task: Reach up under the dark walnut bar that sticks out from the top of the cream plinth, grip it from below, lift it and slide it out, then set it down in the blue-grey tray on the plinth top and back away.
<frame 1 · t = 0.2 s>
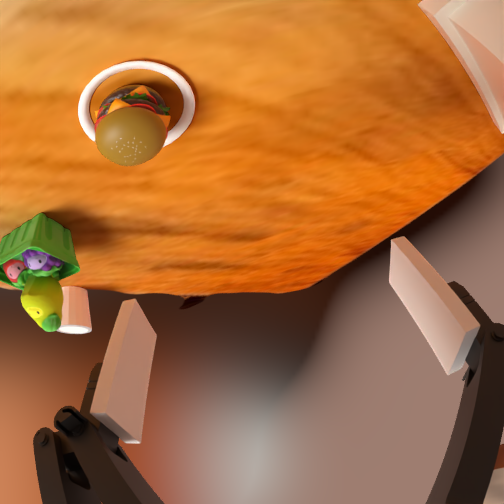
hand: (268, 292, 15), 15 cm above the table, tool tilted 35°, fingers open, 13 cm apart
fruit basket: (38, 234, 30), on the table
white cup: (72, 290, 47), on the table
hamburger: (136, 102, 20), on the table
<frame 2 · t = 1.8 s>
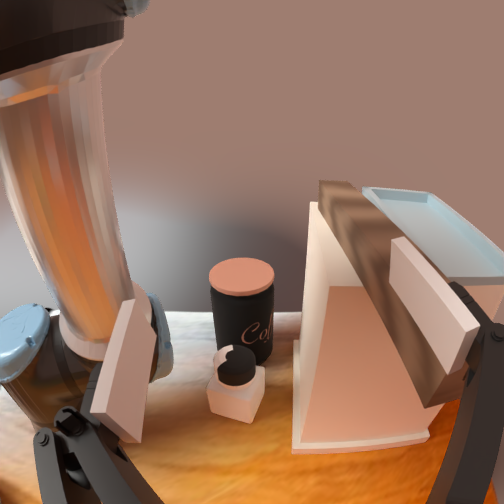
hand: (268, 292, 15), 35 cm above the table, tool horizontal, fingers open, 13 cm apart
tray: (426, 236, 33), resting on plinth
plinth: (354, 393, 47), on the table
medicine bottle: (238, 403, 47), on the table
coffee jar: (245, 351, 59), on the table
walnut bar: (371, 265, 28), point 30 cm above the table, touching plinth
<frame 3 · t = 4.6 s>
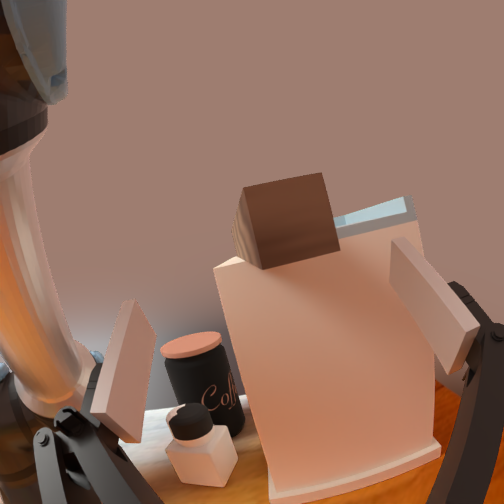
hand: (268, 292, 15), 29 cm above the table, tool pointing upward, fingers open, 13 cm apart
tray: (335, 235, 38), resting on plinth
plinth: (341, 438, 39), on the table
medicine bottle: (211, 472, 37), on the table
coffee jar: (218, 429, 50), on the table
walnut bar: (263, 255, 31), point 30 cm above the table, touching plinth
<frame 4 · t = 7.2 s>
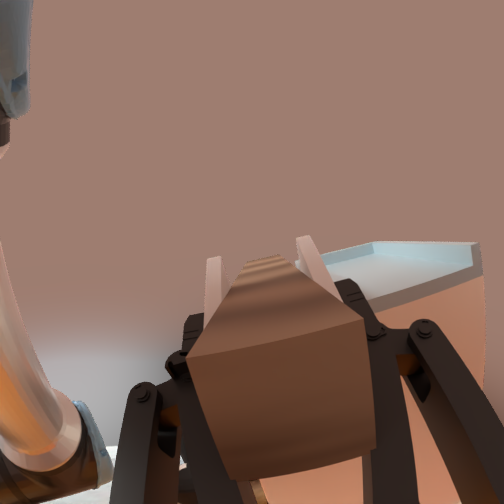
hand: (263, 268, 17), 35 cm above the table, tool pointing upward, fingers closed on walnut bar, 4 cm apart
tray: (369, 278, 29), resting on plinth
plinth: (359, 490, 30), on the table
walnut bar: (276, 322, 22), point 30 cm above the table, touching gripper, plinth
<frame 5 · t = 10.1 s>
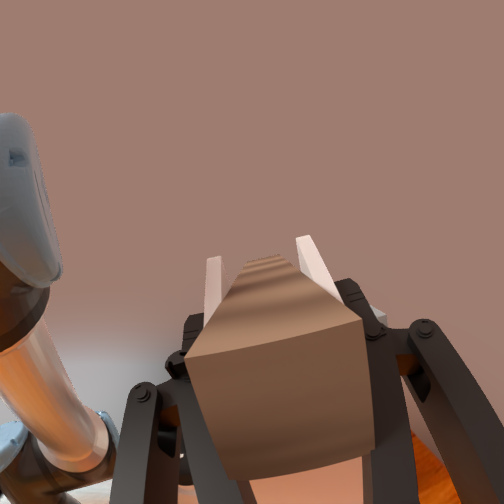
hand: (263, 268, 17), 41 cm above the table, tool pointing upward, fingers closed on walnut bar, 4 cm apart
plinth: (318, 480, 41), on the table
walnut bar: (276, 322, 22), point 37 cm above the table, touching gripper
when the fingers open (37 cm above the table, at t = 13.4 s): walnut bar stays where it is, resting on tray.
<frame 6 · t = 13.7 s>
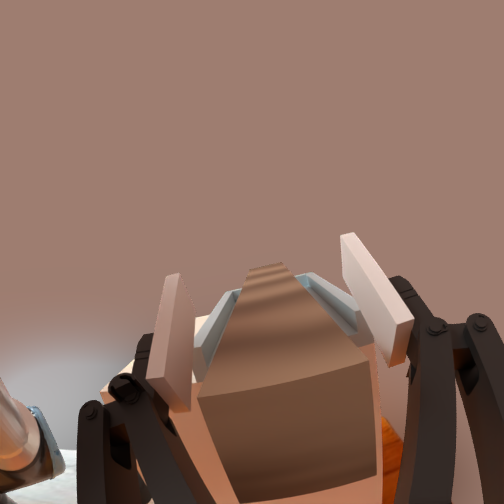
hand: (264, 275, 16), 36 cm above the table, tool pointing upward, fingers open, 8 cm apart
tray: (277, 322, 30), resting on plinth
walnut bar: (280, 334, 22), point 31 cm above the table, touching tray
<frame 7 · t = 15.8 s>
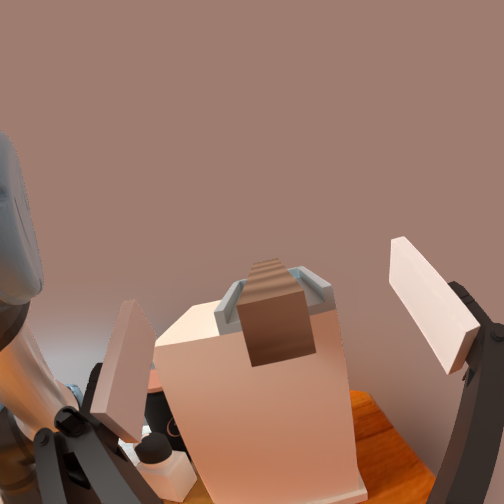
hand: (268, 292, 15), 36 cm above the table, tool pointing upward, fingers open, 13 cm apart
tray: (274, 301, 41), resting on plinth
plinth: (286, 469, 42), on the table
medicine bottle: (174, 488, 40), on the table
coffee jar: (186, 449, 53), on the table
walnut bar: (274, 305, 34), point 31 cm above the table, touching tray
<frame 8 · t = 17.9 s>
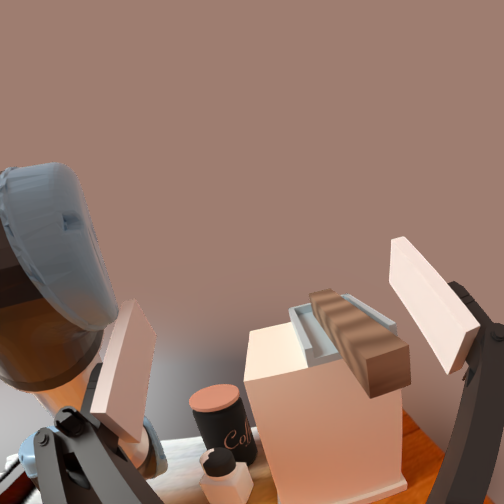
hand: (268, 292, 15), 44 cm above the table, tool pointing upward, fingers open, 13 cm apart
tray: (335, 330, 46), resting on plinth
plinth: (333, 469, 47), on the table
medicine bottle: (232, 495, 45), on the table
coffee jar: (235, 458, 58), on the table
walnut bar: (346, 338, 39), point 31 cm above the table, touching tray
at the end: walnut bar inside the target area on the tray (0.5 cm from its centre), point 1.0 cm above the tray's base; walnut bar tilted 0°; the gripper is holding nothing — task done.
